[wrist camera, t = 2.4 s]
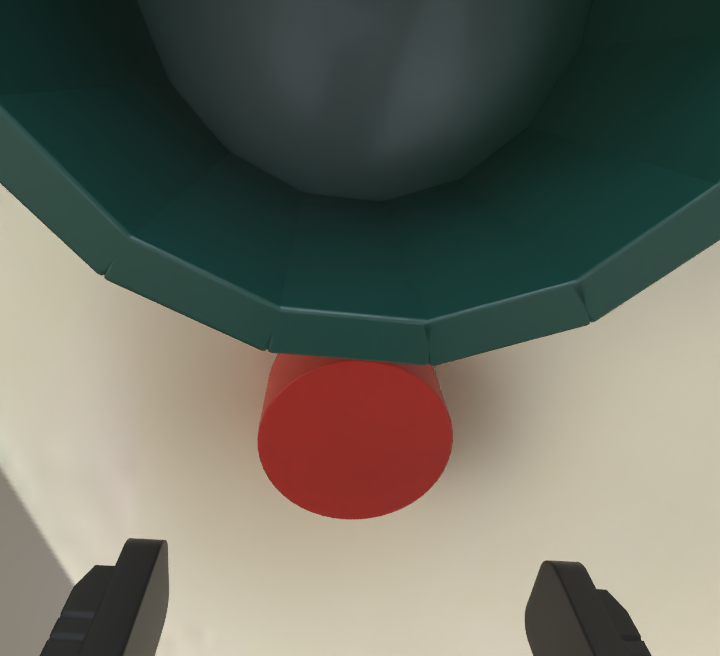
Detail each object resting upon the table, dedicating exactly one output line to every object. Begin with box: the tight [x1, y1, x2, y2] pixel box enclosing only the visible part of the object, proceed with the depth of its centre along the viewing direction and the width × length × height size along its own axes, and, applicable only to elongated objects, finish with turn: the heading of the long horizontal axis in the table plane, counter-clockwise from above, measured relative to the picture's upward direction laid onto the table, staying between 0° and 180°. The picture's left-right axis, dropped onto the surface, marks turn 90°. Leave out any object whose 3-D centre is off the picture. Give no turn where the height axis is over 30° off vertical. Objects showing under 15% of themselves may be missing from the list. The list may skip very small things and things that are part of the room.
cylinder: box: [258, 353, 453, 519], centre depth 17 cm, size 6×6×3 cm
